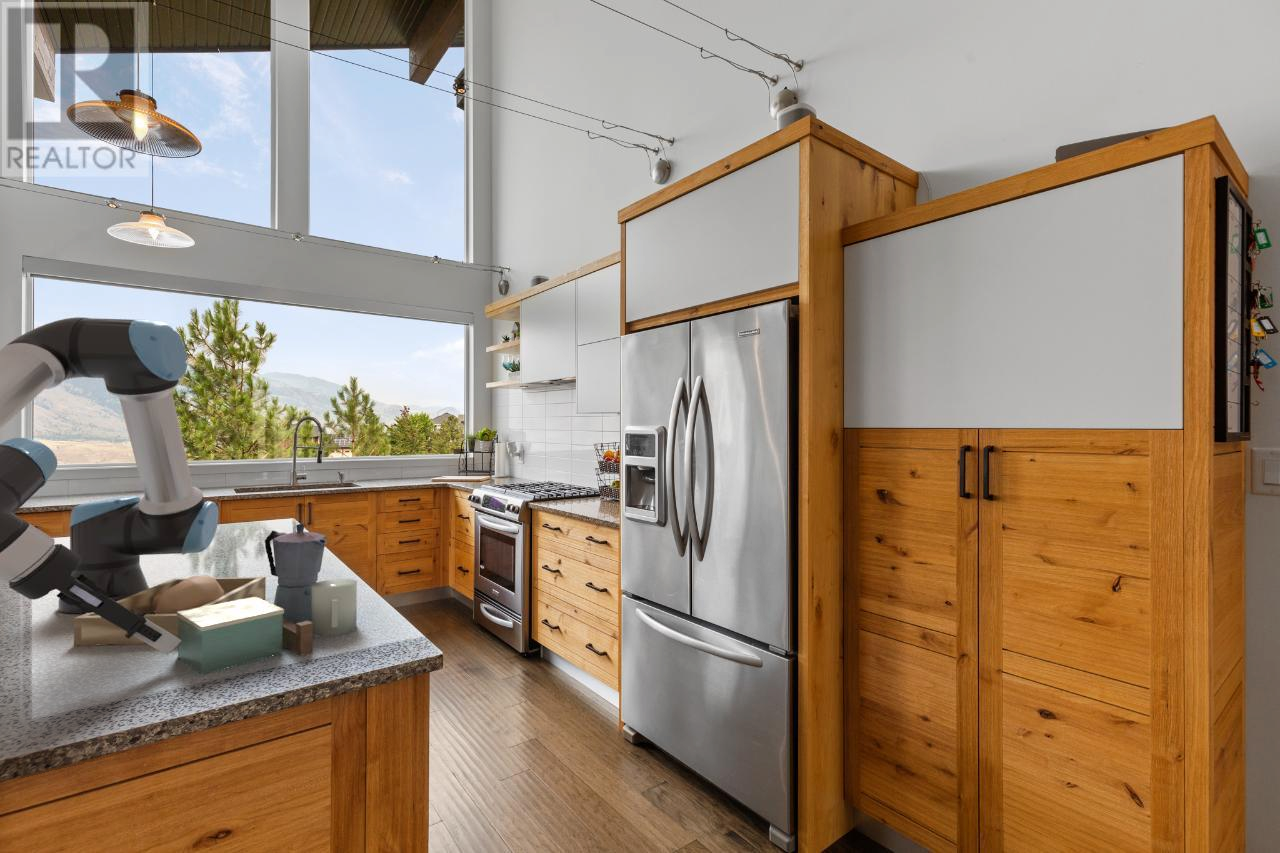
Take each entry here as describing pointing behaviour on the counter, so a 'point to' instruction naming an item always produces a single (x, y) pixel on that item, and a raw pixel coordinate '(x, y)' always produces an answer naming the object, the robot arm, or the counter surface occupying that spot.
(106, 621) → the pine crate
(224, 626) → the green tea tin
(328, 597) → the sage mug
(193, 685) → the counter surface
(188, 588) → the squash
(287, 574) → the moka pot
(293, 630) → the walnut stop rail
